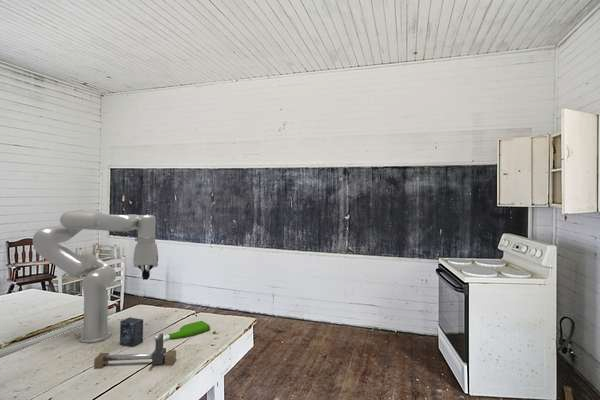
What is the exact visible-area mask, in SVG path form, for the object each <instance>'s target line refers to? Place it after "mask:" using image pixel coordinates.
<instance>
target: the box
mask: <svg viewBox="0 0 600 400" xmlns="http://www.w3.org/2000/svg"><path fill="white" fill-rule="evenodd" d="M119 324H120V326H119V344H120V345H123V346H128V347H132V348H134V347H136V346H138V345H140V344H142V343H143V340H144V319H142V318H136V317H127V318H125V319H123V320H120V322H119Z"/></svg>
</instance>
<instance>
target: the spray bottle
mask: <svg viewBox="0 0 600 400" xmlns="http://www.w3.org/2000/svg"><path fill="white" fill-rule="evenodd" d="M210 330H211V326H210V324H209V323H207V322H205V321H203V320H198V321H194V322H190V323H188V324H184V325H182V326H180V328H179V331H176V332H173V333H168V334H166V333H165V334H164V333H163V343H164V342H166V341H168V340H174V339H175V340H177V339H184V338H189V337H192V336H196V335H200V334H204V333H205V332H209V331H210ZM158 336H159V335H154V339H155V340H156V339H157V337H158Z"/></svg>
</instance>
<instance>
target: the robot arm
mask: <svg viewBox="0 0 600 400" xmlns="http://www.w3.org/2000/svg"><path fill="white" fill-rule="evenodd" d="M59 222H60V224H58V225H54V226H53V225H50V226H46V227H42V228H40V229H38V230H37V231H36V232H35V233H34V234H33V237H32V246H33V249H34V250H35V252H36V253H37V254H38V255H39V256H41V257H42V258H44V259H45V260H47V261H48V262H50V264H53V265H54V266H55V267H57V268H58V269H60V270H62V271H63V272H65V273H66V274H67V275H69V276H71V277H74V278H79V277H82V276H84V277H83V279H82V282H81V283H82V284H81V285H82V290H83V327H82V328H80V327H79V328H75V329H74V335H80V336H79V337H78V339H79V342H82V343H85V344H86V343H87V344H88V343H89V344H90V343H96V342H97V343H98V342H101V341H104V340H106V339H108V338H110V337H111V336H112V331H111V330H109V329H108V326H109V325H108V322H109V321H108V320H109V319H108V318H109V316H108V315H109V314H108V313H109V311H108V310H109V295H108V291H107V286H110V285H111V284H113V283H114V282H115V280H116V278H117V272H116V270H115V269H114V268H113V267H112V266H111V265H109V264H108V263H106V262H105V261H104V260H102V259H100V257H97V256H96V255H94V254H91V253H84V254H83V253H82V254H77V253H76V252H74V251H72V250H71V249H69V248H68V247H65V246H63V245H61V244H62V243H65V242H67V241H70V240H71V239H72V238H74V237H75V236H76V235H77V234H79V233H80V232H82V231H83V230H91V231H93V230H96V231H106V232H128V231H135V230H137V238H134V242H137V243H136V244H135V246H134V251H133V262H132V263H133V267H134V268H138V269H139V270H140V271H141V278H142V280H143V281H144V280H145V281H147V280H148V279H150V274H151V270H152V269H153V268H157V267H158V266H159V251H158V250H159V249H158V244H157V243H156V223H157V222H156V216H155V215H153V214H142V215H141V214H130V213H129V214H106V213H103V212H101V211H88V210H87V211H86V210H81V209H80V210H79V209H78V210H77V209H75V210H68V211H65V212H63V213H62V214H61V215H60V218H59Z"/></svg>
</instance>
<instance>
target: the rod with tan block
mask: <svg viewBox="0 0 600 400" xmlns="http://www.w3.org/2000/svg"><path fill="white" fill-rule="evenodd" d="M93 359H94V360H93V364H94V365H93V368H94V369H103V368H104V367H105V366H106V365H107V364H108V363H109V362H114V361H116V362H117V361H138V360H142V361H143V360H152V353H135V354H134V353H132V354H109V352H100V353H99V354H98V355H97V356H96V357H95V358H93ZM163 359H165V361H164V366H173V365H174V363H175V361H176V360H177V350H176V349H173V350H172V349H169V350H168V351H166V353H164V354H163ZM154 367H155V365H151V366H150V367H149V368H148V369H147V371H149V372H151V371H152V370H153V368H154Z"/></svg>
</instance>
